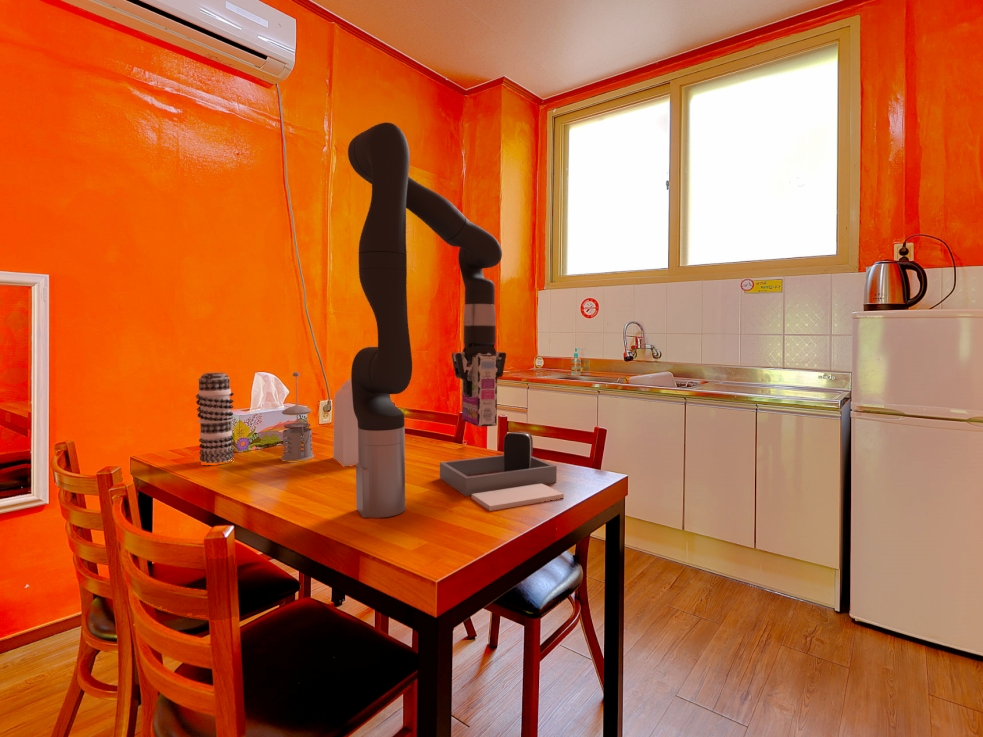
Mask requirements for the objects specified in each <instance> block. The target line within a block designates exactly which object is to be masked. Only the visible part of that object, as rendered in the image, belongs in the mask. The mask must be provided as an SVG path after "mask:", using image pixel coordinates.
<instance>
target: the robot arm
mask: <svg viewBox="0 0 983 737" xmlns="http://www.w3.org/2000/svg"><path fill="white" fill-rule="evenodd" d="M347 157H348V160H349V163H350V166H351V168H352V169H353V170H354V171H355V172H356V174H358V176H359V177H361V178H362V179H364V180H365V181H366V182H368V183H369V184H371V199H370V204H369V208H368V212H367V215H366V217H365V221H364V224H363V227H362V230H361V233H360V238H359V243H358V278H359V282H360V285H361V288H362V292H363V293H364V295H365V297H366V300H367V301H368V304H369V306H370V308H371V310H372V313H373V314H374V318H375V323H376V329H377V346H367V347H364V348H362V349H360V350H358V352H356V354H355V356H354V358H353V361H352V364H351V372H350V374H351V375H350V378H351V383H352V398H353V409H354V413H355V416H356V418H357V421H358V463H357V464H356V466H355V481H356V482H355V485H356V486H355V487H356V488H355V489H356V495H355V496H356V497H355V498H356V499H355V500H356V510H357V511H358V513H359V514H360V516H361V517H362V518H364V519H365V518H377V519H379V518H390V517H393V516H397V515H400V514H402V513H403V512H405V510H406V449H405V448H406V446H405V444H406V443H405V442H406V440H405V437H406V436H405V435H406V434H405V430H406V429H405V428H406V427H405V426H406V425H405V414H404V412H403V410H401V409H400V408H398V407H397V405H395V404H394V402H393V401H392V399H391V395H398V394H401V393H403V392H405V390H406V389H408V386H409V385H410V383H411V380H412V375H413V357H412V356H413V355H412V348H411V341H410V340H411V339H410V338H411V337H410V331H409V320H408V319H409V318H408V316H409V315H408V295H407V294H408V292H407V291H408V290H407V284H408V282H407V280H408V279H407V278H408V277H407V276H408V274H407V273H408V270H407V268H408V264H407V263H408V262H407V253H408V251H407V210H408V211H410V212H411V213H412V214H413V215H415V216H416V217H417V218H419V219H420V221H422V222H423V223H424V224H426V225H427V226H428V227H429V228H430V230H432V231H433V232H434V233H435V234H436V235H437V236H439V238H441V239H442V240H443V242H445V243H446V244H447V245H449V246H450V247H453V248H454V247H456V248H459V250H458V256H457V257H458V258H457V259H458V265H459V269H460V274H461V278H462V282H463V285H464V309H463V311H464V312H463V345H464V347H463V349H462V351H460V352H452V354H451V360H452V363H453V369H454V370H453V371H454V375H455V377H456V378H457V379H460V380H461V381H462V380H463V393H464V394H465V396H466V397H472V381H471V379H472V372H473V364H472V356H473V355H479V354H489V355H497V379H499V378H502V377H503V376H504V370H505V364H506V358H507V353H506V352H503V351H497V350H496V347H495V345H496V342H497V340H496V338H497V337H496V335H497V334H496V332H497V330H496V329H497V328H496V326H497V323H496V322H497V321H496V318H497V316H496V315H497V314H496V307H495V305H496V304H495V303H496V298H495V297H496V296H495V295H496V294H495V293H496V286H495V283H494V282H493V281H492V279H491V280H490V279H488V278H485V276H484V271H483V269H488V268H493V267H496V266H498V264H499V263H500V262H501V260H502V257H503V250H502V247H501V244H500V243H499V241H498V239H496V237H495V236H493V234H491V233H490V232H488V231H487V230H485V229H484V228H482V227H481V226H479V225H477V224H476V223H474V222H471V221H470V220H469V219H468V218H467V217H466V216H465V215H464V214H463V213H462V212H461V211H460V210H459V209H458V208H457V207H456V205H454V204H453V203H452V202H451V201H450V200H448V199H447V198H446V197H444V196H442V195H441V194H439V193H437V192H435V191H433V190H432V189H430V188H427V187H426V186H424V185H422V184H421V183H418V181H415V180H414V179H413V178H411V177H410V176H409V173H410V160H411V159H410V158H411V155H410V148H409V143H408V139H407V138H406V135H405V134H404V132H403V131H402V130H401V128H399V126H397V125H396V124H395V123H392V122H381V123H378V124H375V125H373V126H371V127H369V128H368V129H366V130H364V131H362V132H360V133H359V134H357V135H355V137H353V138H352V140H350V142H349V144H348V148H347ZM464 357H465V359H466V360H467V362H466V365H465V367H463V360H464ZM471 364H472V366H471V367H469V366H468V365H471Z"/></svg>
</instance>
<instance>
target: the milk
mask: <svg viewBox="0 0 983 737" xmlns="http://www.w3.org/2000/svg"><path fill="white" fill-rule="evenodd" d="M333 399H334V404H333V406H334V407H333V410H334V411H333V447H332V448H333V450H332V451H333V453H332V454H333V455H332V458H333V457H334V458H335V459H336V460H337V461H338V462H340V463H341V464H342V465H343V466H350V465H356V464H357V463H358V421H357V418H356V416H355V413H354V409H353V398H352V383H351V377H350V378H349V379H348V380H346V381H345V382H343V384H342V385H341V387H340V388H339V389H338V390H337V391H336V393H335V394H334V398H333ZM334 458H333V459H334ZM335 459H334V460H335ZM336 460H335V461H336ZM337 461H336V462H337ZM338 462H337V463H338ZM350 467H351V466H350Z"/></svg>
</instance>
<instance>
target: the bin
mask: <svg viewBox="0 0 983 737" xmlns="http://www.w3.org/2000/svg"><path fill="white" fill-rule="evenodd" d="M557 473H558V472H557V465H556V464H553V463H550V462H548V461H545V460H542V459H540V458H537V457H535V456H533V455H531V468H530V469H522V470H515V471H507V472H504V454H501V455H494V456H493V455H491V456H490V455H489V456H484V457H475V458H474V457H473V458H466V459H465V458H464V459H459V460H458V459H457V460H450V461H449V460H447V461H442V462H439V479H440V480H442V481H443V482H444V483H447V485H449V486H451V487H452V488H453V489H455V490H456V491H458V492H460V494H462V495H464V496H465V497H470V496H472V494H475V493H481V492H488V491H494V490H501V489H508V488H514V487H521V486H527V485H534V484H541V483H542V484H544V485H548V484H547V483H549V484H554V483H553V482H556V483H557Z"/></svg>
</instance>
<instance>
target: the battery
mask: <svg viewBox="0 0 983 737" xmlns="http://www.w3.org/2000/svg"><path fill="white" fill-rule="evenodd" d="M533 442H534V441H533V437H532V435H531V433H530V432H529V433H528V432H523V431H521V432H520V431H511V432H507V433H506V434H505V435H504V437H503V455H504V471H503V472H507V471H515V470H522V469H530V468H531V456H532V454H533V450H534V443H533Z"/></svg>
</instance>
